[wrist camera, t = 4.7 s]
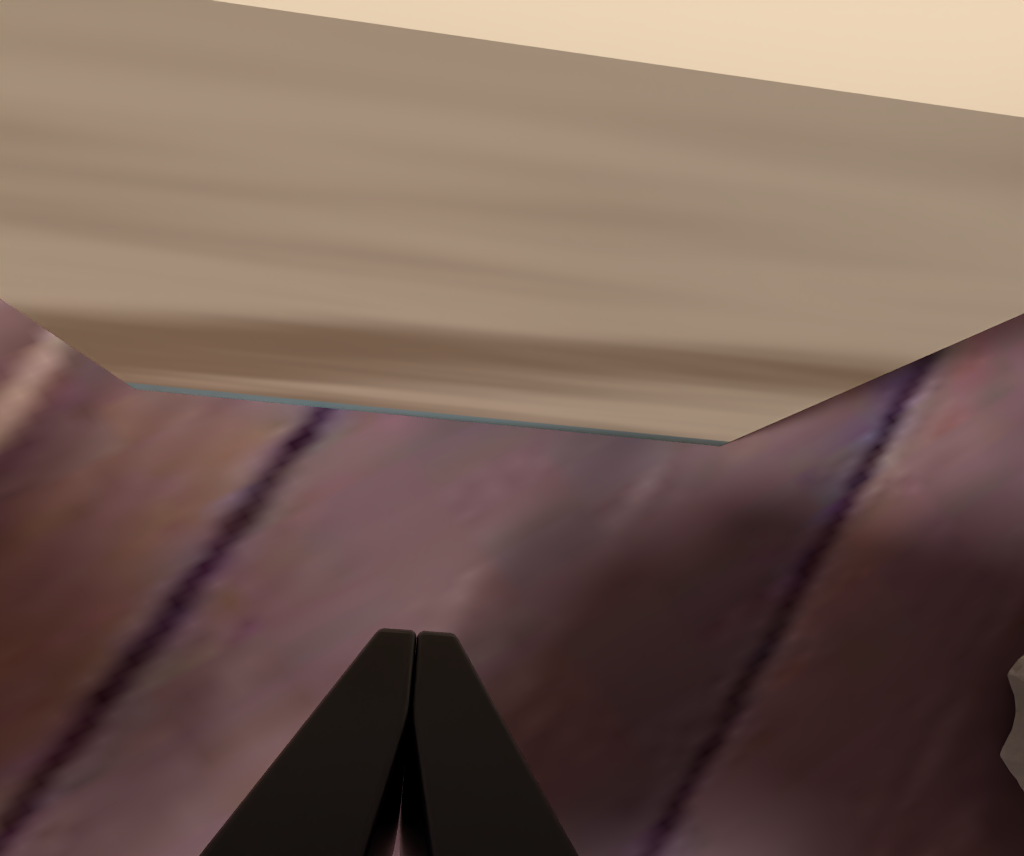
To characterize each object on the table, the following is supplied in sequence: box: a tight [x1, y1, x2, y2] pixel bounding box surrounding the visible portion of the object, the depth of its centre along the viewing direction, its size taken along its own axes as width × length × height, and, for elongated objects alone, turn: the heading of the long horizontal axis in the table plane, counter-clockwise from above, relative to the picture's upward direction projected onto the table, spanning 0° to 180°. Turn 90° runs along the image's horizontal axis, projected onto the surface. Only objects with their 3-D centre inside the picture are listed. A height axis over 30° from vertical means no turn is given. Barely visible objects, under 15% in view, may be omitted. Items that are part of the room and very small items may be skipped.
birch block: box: [0, 0, 1024, 446], centre depth 11 cm, size 5×12×12 cm, turn 86°
